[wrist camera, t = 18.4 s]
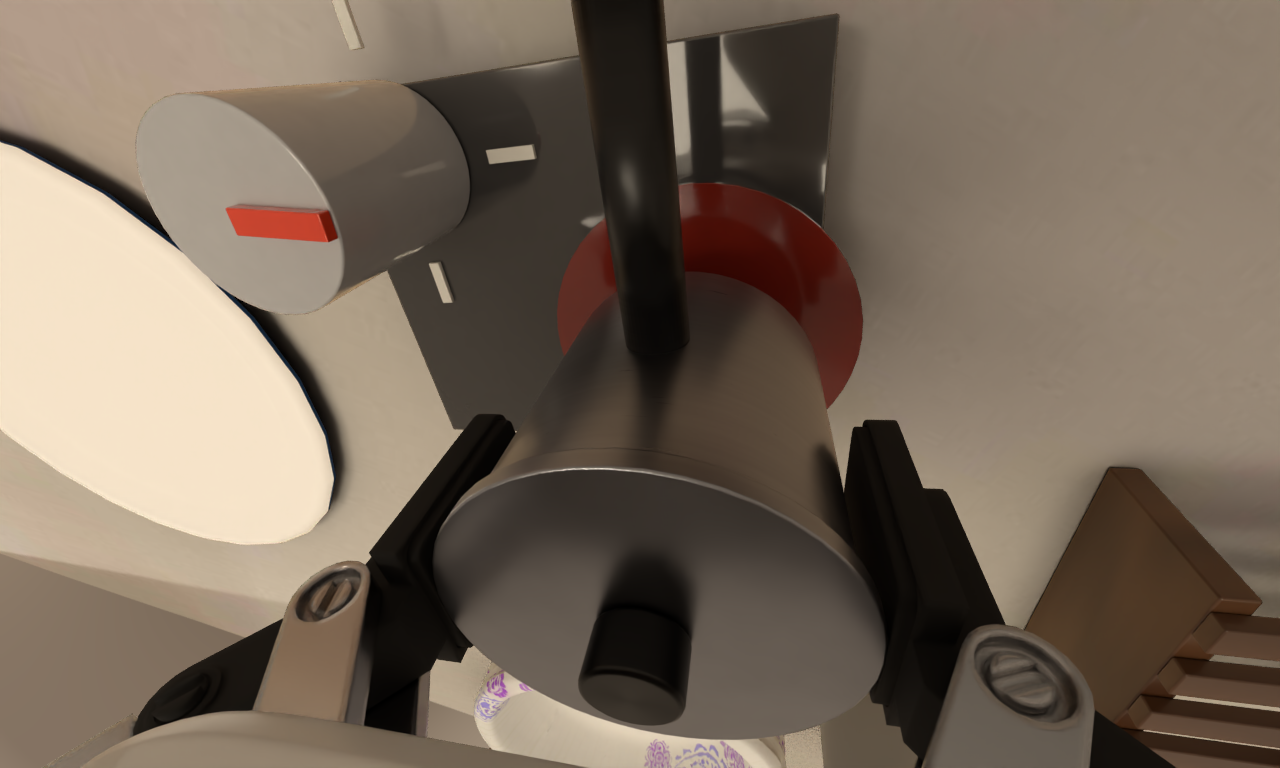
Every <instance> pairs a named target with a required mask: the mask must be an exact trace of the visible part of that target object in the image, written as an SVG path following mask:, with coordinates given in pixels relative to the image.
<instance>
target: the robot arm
mask: <svg viewBox="0 0 1280 768" xmlns="http://www.w3.org/2000/svg"><path fill="white" fill-rule="evenodd" d="M515 434H516V433H515V430H514V427H513V425H512V423H511V422H510V421H509V420H506V418H505V417H504V416H503V415H501V414H477V415H476V416H475V417H474V418H473V419H472V420H471V422H470V423H469V424H468V425H467V427H466V428H465V429H464V431H463V432H462V433H461V434H460V436H459V437H458V438H457V440H456V441H455V442H454V444H453V445H452V446H451V447H450V449H449V450H448V451H447V453H446V454H445V455H444V456H443V458H442V459H441V460H440V462H439V463H438V464H437V465H436V467H435V468H434V469H433V471H432V472H431V473H430V475H429V476H428V477H427V478H426V480H425V481H424V482H423V484H422V485H421V486H420V487H419V489H418V490H417V491H416V493H415V494H414V495H413V496H412V498H411V499H410V500H409V502H408V503H407V504H406V506H405V507H404V508H403V509H402V511H401V512H400V513H399V515H398V516H397V517H396V518H395V520H394V521H393V522H392V524H391V525H390V526H389V527H388V529H387V530H386V531H385V533H384V534H383V535H382V536H381V538H380V539H379V540H378V542H377V543H376V544H375V546H374V547H373V548H372V549H371V551H370V552H369V553H370V555H371V558H370V560H369V561H368V562H367V563H366V565H365V564H363V563H361V562H359V561H344V562H340V563H336V564H334V565H331V566H329V567H326V568H324V569H323V570H321V571H319V572H318V573H316V574H315V575H313V576H312V577H310V578H309V579H308V580H307V581H306V582H305V583H304V584H302V585H301V586H300V588H299V589H298V590H297V591H296V593H295V594H294V595H293V596H292V598H291V600H290V602H289V604H288V606H287V609H286V612H285V615H284V618H283V619H281V620H279V621H277V622H275V623H273V624H271V625H269V626H267V627H265V628H263V629H262V630H260V631H258V632H256V633H254V634H252V635H250V636H248V637H246V638H244V639H242V640H240V641H238V642H237V643H235V644H233V645H231V646H229V647H227V648H225V649H223V650H221V651H219V652H217V653H215V654H214V655H212V656H210V657H208V658H206V659H204V660H202V661H200V662H198V663H196V664H194V665H192V666H191V667H189V668H187V669H186V670H184V671H183V672H181V673H179V674H178V675H176V676H175V677H174V678H172V679H171V680H170V681H169V682H167V683H166V684H165V685H164V686H163V687H161V688H160V689H159V690H158V692H157V693H156V694H155V695H154V696H153V697H152V698H151V699H150V700H149V701H148V703H147V704H146V705H145V707H144V709H143V710H142V711H141V713H140V714H139V716H138V718H137V717H136V716H135V715H133V714H131V715H129V716H127V717H126V718H124V719H122V720H121V721H119V722H117V723H116V724H114V725H112V726H111V727H109V728H107V729H106V730H104V731H102V732H101V733H100V734H98V735H96V736H94V737H93V738H91V739H89V740H88V741H86V742H84V743H83V744H81V745H79V746H78V747H76V748H74V749H73V750H71V751H69V752H68V753H66V754H64V755H63V756H61V757H59V758H58V759H56V760H54V761H53V762H51V763H49V764H48V765H46V766H44V767H43V768H587V767H582V766H577V765H571V764H566V763H561V762H555V761H550V760H545V759H540V758H534V757H529V756H524V755H518V754H513V753H508V752H502V751H497V750H492V749H486V748H481V747H475V746H470V745H465V744H459V743H454V742H448V741H443V740H437V739H432V738H427V729H428V709H429V688H430V670H431V669H432V667H433V665H434V663H435V661H436V659H438V660H445V661H452V662H459V663H461V661H462V659H463V657H464V655H465V653H466V651H467V648H468V647H469V648H471V647H472V646H474V645H473V644H472V643H471V642H470V641H469V640H468V639H467V638H466V637H465V635H464V634H463V633H462V632H461V631H460V629H459V628H458V627H457V626H456V625H455V623H454V622H453V620H452V618H451V617H450V615H449V614H448V612H447V611H446V609H445V607H444V605H443V603H442V601H441V599H440V597H439V595H438V592H437V588H436V585H435V581H434V577H433V566H432V559H433V551H434V544H435V541H436V538H437V536H438V533H439V530H440V528H441V526H442V525H443V523H444V522H445V520H446V519H447V517H448V516H449V514H450V513H451V511H452V510H453V508H454V507H455V505H456V504H457V502H458V501H459V500H460V498H461V497H462V496H463V495H464V494H465V493H466V492H467V491H468V490H469V489H470V488H471V487H472V486H473V485H475V484H476V483H477V482H478V481H480V480H482V479H483V478H485V477H486V476H488V475H490V474H491V472H492V470H493V469H494V467H495V466H496V464H497V462H498V461H499V459H500V458H501V456H502V455H503V453H504V451H505V450H506V448H507V447H508V445H509V443H510V442H511V440H512V439H513V437H514V436H515ZM844 497H845V502H846V507H847V511H848V516H849V521H850V526H851V531H852V536H853V541H854V546H855V551H856V555H857V556H858V557H859V558H860V559H861V561H862V562H863V564H864V566H865V567H866V569H867V571H868V572H869V574H870V576H871V577H872V579H873V581H874V583H875V586H876V589H877V591H878V594H879V597H880V600H881V602H882V607H883V611H884V615H885V620H886V626H887V634H888V649H887V656H886V661H885V665H884V668H883V670H882V672H881V675H880V677H879V679H878V681H877V682H876V684H875V685H874V686H873V688H872V689H871V691H870V692H869V694H870V698H871V701H872V703H875V704H882V705H883V710H884V715H885V720H886V725H889V726H896V727H900V729H901V734H902V738H903V742H904V743H905V744H906V745H907V746H908V747H909V748H910V749H911V750H912V751H913V752H914V753H915V754H916V755H917V758H916V761H915V764H914V767H913V768H1176V767H1175V766H1173V765H1172V764H1171V763H1169V762H1168V761H1166V760H1165V759H1164V758H1162V757H1161V756H1159V755H1158V754H1157V753H1155V752H1154V751H1152V750H1151V749H1150V748H1148V747H1147V746H1145V745H1144V744H1142V743H1141V742H1140V741H1138V740H1137V739H1135V738H1134V737H1133V736H1131V735H1130V734H1128V733H1127V732H1126V731H1124V730H1123V729H1121V728H1120V727H1119V726H1117V725H1116V724H1114V723H1113V722H1112V721H1110V720H1109V719H1107V718H1106V717H1104V716H1103V715H1102V714H1100V713H1099V712H1097V711H1096V710H1095V709H1094V703H1093V695H1092V692H1091V690H1090V688H1089V686H1088V684H1087V682H1086V680H1085V678H1084V676H1083V675H1082V673H1081V672H1080V671H1079V670H1078V669H1077V667H1076V666H1075V665H1074V664H1073V663H1072V661H1071V660H1070V659H1069V658H1068V657H1067V656H1065V655H1064V654H1063V653H1062V652H1061V651H1059V650H1058V649H1057V648H1056V647H1055V646H1053V645H1052V644H1051V643H1049V642H1047V641H1045V640H1044V639H1042V638H1040V637H1038V636H1037V635H1035V634H1033V633H1031V632H1028V631H1025V630H1022V629H1019V628H1017V627H1014V626H1007V625H1006V624H1005V622H1004V620H1003V618H1002V615H1001V613H1000V611H999V609H998V606H997V604H996V602H995V599H994V597H993V595H992V593H991V590H990V588H989V586H988V583H987V581H986V579H985V577H984V574H983V572H982V570H981V568H980V565H979V563H978V561H977V558H976V556H975V554H974V552H973V549H972V547H971V545H970V543H969V540H968V538H967V536H966V533H965V531H964V529H963V527H962V524H961V522H960V520H959V518H958V515H957V513H956V511H955V508H954V506H953V504H952V502H951V499H950V498H949V496H948V494H947V493H946V492H945V491H944V490H943V489H926V488H923V486H922V484H921V481H920V479H919V476H918V473H917V471H916V468H915V466H914V463H913V461H912V458H911V455H910V453H909V450H908V448H907V445H906V443H905V440H904V437H903V435H902V432H901V430H900V427H899V425H898V423H897V421H895V420H865V421H864V423H863V427H854V428H853V431H852V437H851V444H850V452H849V459H848V466H847V474H846V481H845V488H844Z"/></svg>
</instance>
